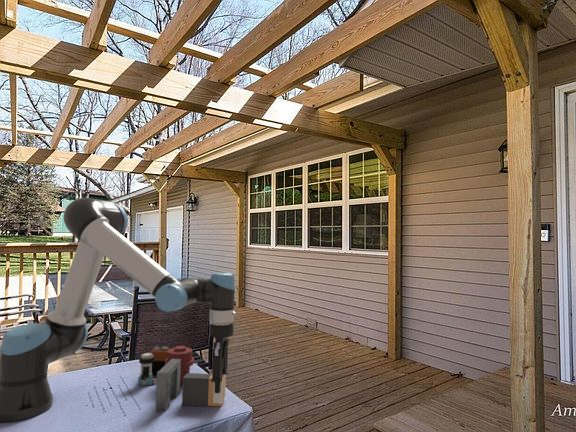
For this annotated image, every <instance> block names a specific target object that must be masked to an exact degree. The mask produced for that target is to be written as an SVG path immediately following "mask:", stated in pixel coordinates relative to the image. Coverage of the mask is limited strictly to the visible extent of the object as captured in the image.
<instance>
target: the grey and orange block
mask: <svg viewBox="0 0 576 432" xmlns="http://www.w3.org/2000/svg"><path fill="white" fill-rule="evenodd" d="M225 375H226V374H222V380H223V396H222V403H213V386H214V382H211V379H212V373H198V372H197V373H194V372H189V373H187V374H186V375H185V376H184V377H183V384H182V396H181V398H182V399H181V400H182V401H181V405H182V406H183V405H184V406H207V407H209V406H211V407H222V405H223V402H224V401H225V397H224V377H225Z"/></svg>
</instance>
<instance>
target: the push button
mask: <svg viewBox="0 0 576 432" xmlns="http://www.w3.org/2000/svg"><path fill="white" fill-rule="evenodd" d="M154 359H155V356H153V355H152V353H150V352H145V353H142V354H141V355H140V356H139V357H138V361H139V364H140V374H139V376H138V378H137V385H139V386H141V385H142V386H151V385H152V384H155V383H156V384H157V378H155V376H154V375H152V362H154Z"/></svg>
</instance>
